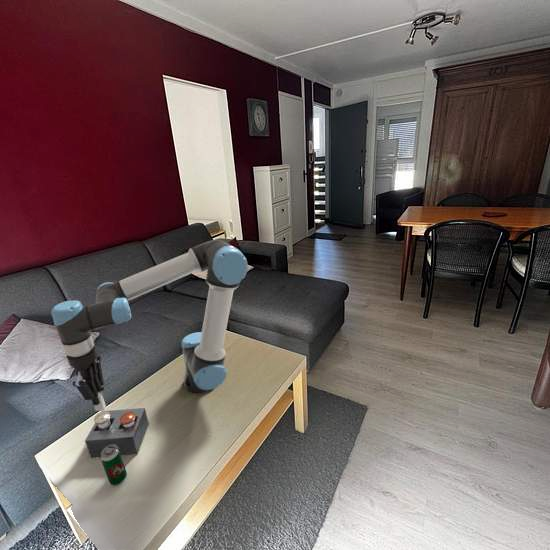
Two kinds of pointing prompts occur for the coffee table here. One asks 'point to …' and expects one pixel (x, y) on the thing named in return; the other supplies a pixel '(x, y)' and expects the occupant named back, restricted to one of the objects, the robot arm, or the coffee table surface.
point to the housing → (118, 434)
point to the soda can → (113, 464)
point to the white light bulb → (103, 420)
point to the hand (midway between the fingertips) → (101, 408)
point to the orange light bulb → (128, 420)
